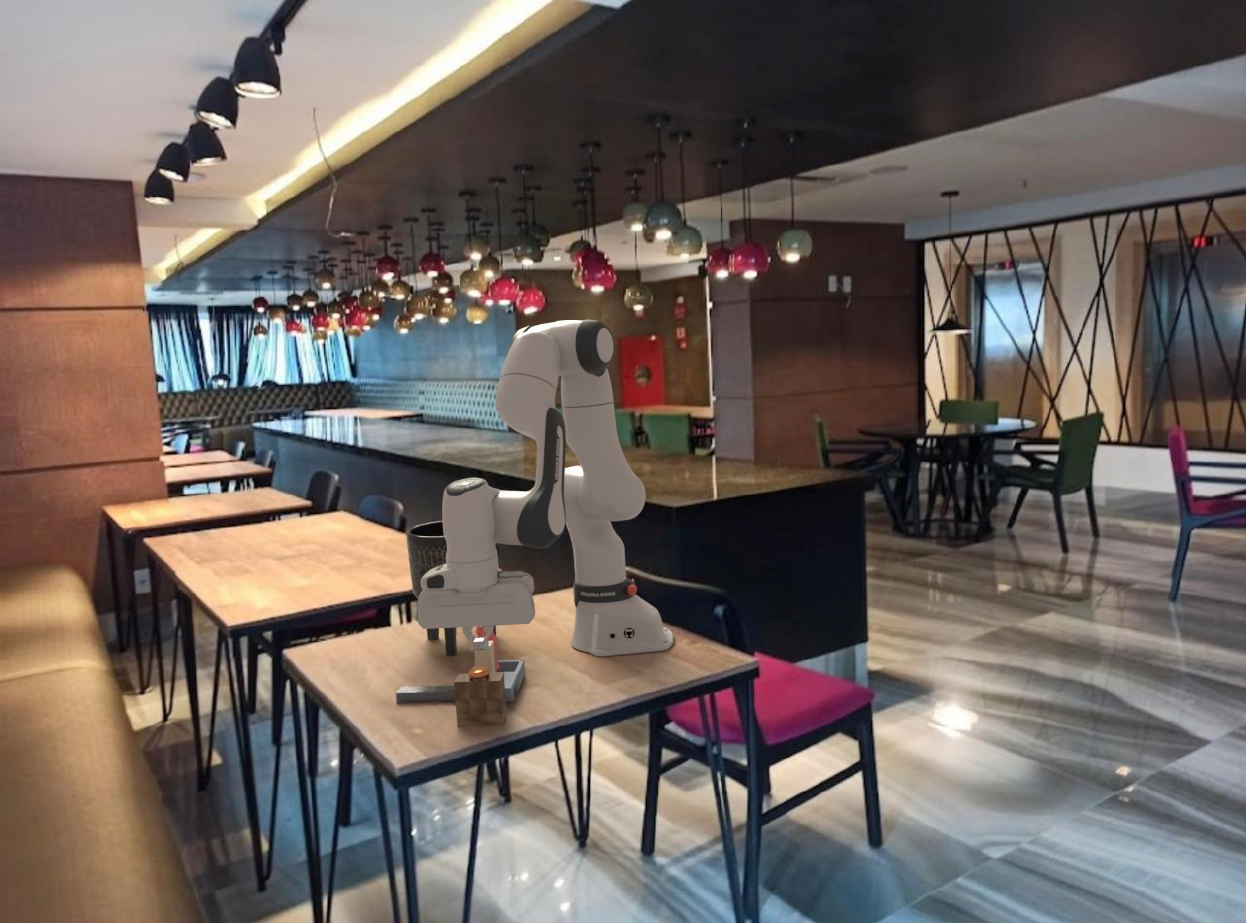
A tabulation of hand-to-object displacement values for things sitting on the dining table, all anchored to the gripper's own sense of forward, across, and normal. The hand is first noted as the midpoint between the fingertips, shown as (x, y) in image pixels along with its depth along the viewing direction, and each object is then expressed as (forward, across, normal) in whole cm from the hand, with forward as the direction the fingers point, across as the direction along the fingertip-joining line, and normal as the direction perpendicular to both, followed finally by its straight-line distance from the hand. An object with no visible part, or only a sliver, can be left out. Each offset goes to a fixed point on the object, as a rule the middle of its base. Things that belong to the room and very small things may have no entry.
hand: (479, 649), depth 158 cm
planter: (+14, +14, -43) cm, 47 cm away
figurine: (+13, +3, -17) cm, 22 cm away
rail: (+13, +8, -10) cm, 18 cm away
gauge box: (+13, +1, +1) cm, 13 cm away
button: (+11, +1, +1) cm, 11 cm away
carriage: (+13, +1, -13) cm, 19 cm away
